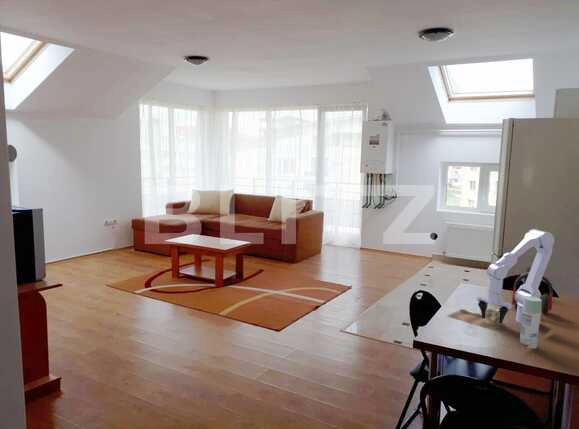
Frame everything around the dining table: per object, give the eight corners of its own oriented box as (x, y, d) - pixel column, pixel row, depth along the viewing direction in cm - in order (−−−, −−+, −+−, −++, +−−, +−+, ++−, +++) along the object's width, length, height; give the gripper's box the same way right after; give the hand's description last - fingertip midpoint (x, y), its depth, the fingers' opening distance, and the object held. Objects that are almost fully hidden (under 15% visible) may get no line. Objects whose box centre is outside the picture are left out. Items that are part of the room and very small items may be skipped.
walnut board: (507, 324, 206) (508, 319, 206) (493, 333, 196) (493, 327, 195) (462, 311, 222) (462, 306, 222) (446, 319, 212) (446, 313, 211)
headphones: (511, 311, 225) (514, 272, 222) (511, 305, 234) (514, 268, 231) (551, 317, 217) (555, 277, 214) (550, 311, 226) (554, 272, 223)
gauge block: (500, 322, 205) (501, 309, 205) (492, 326, 199) (493, 313, 198) (491, 319, 208) (492, 307, 207) (483, 324, 202) (484, 311, 201)
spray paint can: (540, 348, 181) (545, 301, 178) (526, 349, 180) (531, 301, 177) (529, 342, 187) (533, 295, 185) (515, 343, 186) (519, 296, 183)
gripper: (475, 288, 204) (472, 317, 206) (507, 296, 194) (505, 327, 196) (481, 286, 209) (479, 314, 211) (514, 293, 199) (511, 323, 200)
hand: (492, 320), depth 204 cm, fingers open, 7 cm apart
